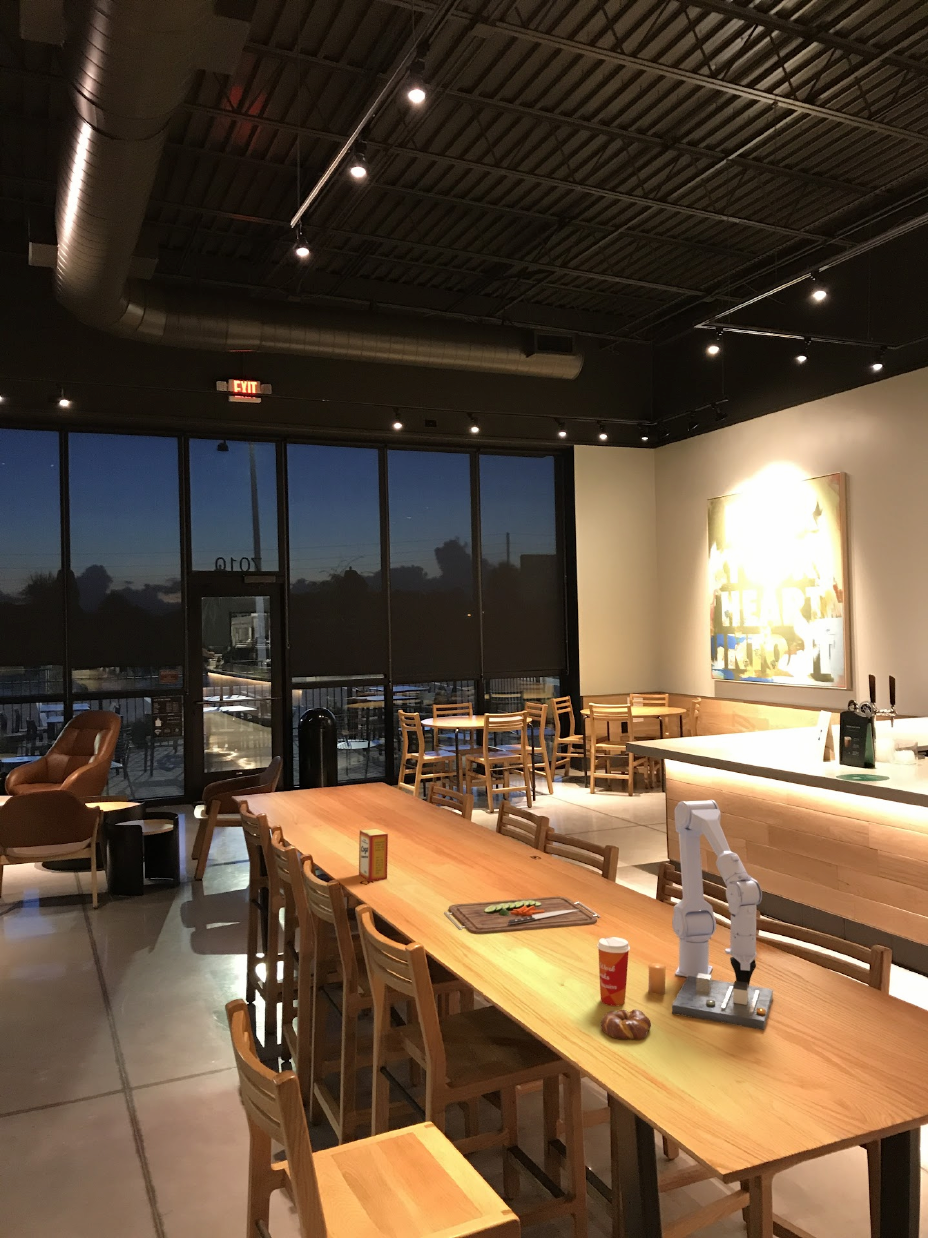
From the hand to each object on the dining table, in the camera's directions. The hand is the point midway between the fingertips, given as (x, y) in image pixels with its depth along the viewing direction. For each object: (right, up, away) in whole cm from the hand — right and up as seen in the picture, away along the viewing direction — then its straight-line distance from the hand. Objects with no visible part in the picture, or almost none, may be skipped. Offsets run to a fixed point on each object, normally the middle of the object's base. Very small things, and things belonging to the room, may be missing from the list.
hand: (742, 991), depth 217 cm
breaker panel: (-4, -3, 0) cm, 6 cm away
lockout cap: (-18, -3, +8) cm, 20 cm away
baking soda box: (-97, -4, +108) cm, 145 cm away
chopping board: (-47, -4, +67) cm, 82 cm away
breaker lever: (-1, -1, -3) cm, 3 cm away
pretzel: (-30, -3, -14) cm, 33 cm away
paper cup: (-30, -3, +1) cm, 30 cm away
